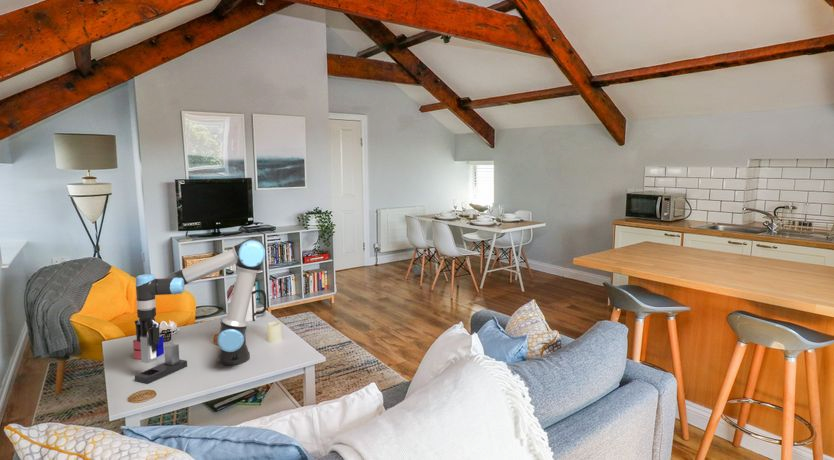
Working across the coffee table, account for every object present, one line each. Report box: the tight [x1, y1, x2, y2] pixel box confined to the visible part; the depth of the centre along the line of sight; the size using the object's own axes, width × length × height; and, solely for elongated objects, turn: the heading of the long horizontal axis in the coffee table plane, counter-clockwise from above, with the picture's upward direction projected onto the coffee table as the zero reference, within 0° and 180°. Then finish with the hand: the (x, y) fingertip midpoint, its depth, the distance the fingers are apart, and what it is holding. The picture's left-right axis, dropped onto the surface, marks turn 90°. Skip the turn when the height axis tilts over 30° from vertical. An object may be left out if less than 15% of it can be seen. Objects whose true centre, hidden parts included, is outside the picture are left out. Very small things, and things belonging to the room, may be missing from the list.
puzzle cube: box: [132, 334, 165, 360], centre depth 248 cm, size 10×10×10 cm
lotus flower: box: [159, 320, 181, 335], centre depth 283 cm, size 14×15×9 cm
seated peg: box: [164, 343, 180, 366], centre depth 231 cm, size 4×4×12 cm
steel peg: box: [140, 333, 158, 364], centre depth 219 cm, size 4×4×12 cm
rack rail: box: [134, 358, 188, 385], centre depth 226 cm, size 8×22×3 cm, turn 158°
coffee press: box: [232, 282, 267, 323], centre depth 307 cm, size 17×16×30 cm
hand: (148, 357), depth 220 cm, fingers closed on steel peg, 4 cm apart
